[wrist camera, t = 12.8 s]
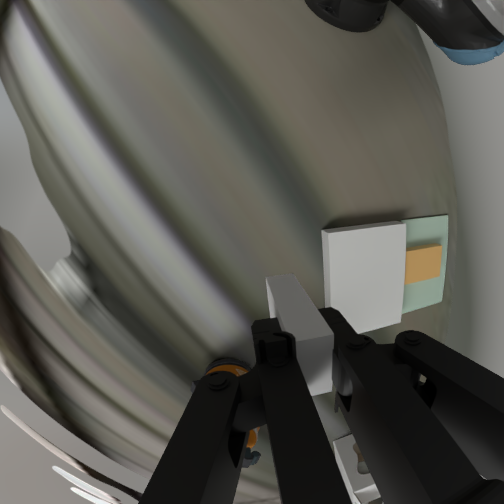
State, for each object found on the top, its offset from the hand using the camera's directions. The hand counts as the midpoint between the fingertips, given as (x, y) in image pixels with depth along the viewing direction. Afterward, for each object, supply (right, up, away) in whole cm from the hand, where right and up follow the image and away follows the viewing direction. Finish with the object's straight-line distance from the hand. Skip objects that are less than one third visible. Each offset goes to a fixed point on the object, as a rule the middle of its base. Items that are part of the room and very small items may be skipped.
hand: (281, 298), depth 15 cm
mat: (+31, 0, +30) cm, 43 cm away
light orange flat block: (+29, +1, +29) cm, 41 cm away
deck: (+17, -2, +29) cm, 34 cm away
